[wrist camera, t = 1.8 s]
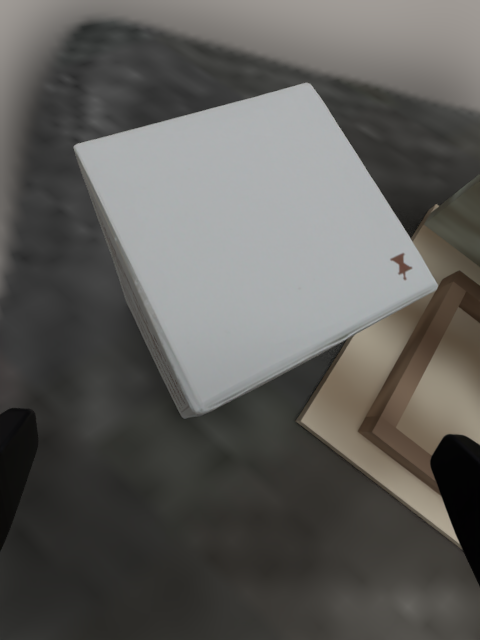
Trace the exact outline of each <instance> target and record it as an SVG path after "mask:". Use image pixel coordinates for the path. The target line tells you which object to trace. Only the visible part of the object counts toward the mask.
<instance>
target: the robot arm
mask: <svg viewBox="0 0 480 640" xmlns="http://www.w3.org/2000/svg"><path fill="white" fill-rule="evenodd" d="M37 448H38V432H37V424H36V416H35V412H34V411H33V410H31V409H21V408H11V409H8V410H6V411H5V412H3V413H2V414H0V551H1V549H2V547H3V544H4V542H5V540H6V537H7V535H8V533H9V530H10V528H11V525H12V522H13V519H14V517H15V514H16V511H17V508H18V505H19V502H20V499H21V496H22V493H23V490H24V487H25V484H26V481H27V478H28V475H29V472H30V469H31V466H32V463H33V461H34V458H35V455H36V452H37ZM430 466H431V470H432V472H433V475H434V478H435V481H436V483H437V486H438V489H439V491H440V494H441V497H442V500H443V502H444V505H445V508H446V510H447V513H448V516H449V519H450V521H451V524H452V526H453V529H454V532H455V534H456V536H457V539H458V541H459V543H460V545H461V547H462V550H463V552H464V554H465V556H466V558H467V560H468V562H469V565H470V567H471V569H472V571H473V573H474V575H475V577H476V580H477V582H478V584H479V586H480V445H479V444H478V443H476V442H475V441H473V440H472V439H470V438H469V437H467V436H465V435H459V434H447V435H445V436H444V437H443V438H442V440H441V441H440V443H439V445H438V446H437V448H436V449H435V451H434V453H433V454H432V456H431V459H430Z"/></svg>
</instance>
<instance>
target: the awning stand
mask: <svg viewBox="0 0 480 640" xmlns="http://www.w3.org/2000/svg"><path fill="white" fill-rule="evenodd" d="M411 240H412V242H413V243H414V245H415V247H416V248H417V250H418V251H419V253H420V255H421V256H422V258H423V260H424V262H425V263H426V265H427V267H428V269H429V271H430V272H431V274H432V276H433V277H434V279H435V281H436V282H437V284H438V288H437V290H436V291H434V292H432V293H431V294H429V295H427V296H425V297H423V298H421V299H419V300H417V301H415V302H414V303H412V304H410V305H408V306H406V307H404V308H403V309H401V310H399V311H397V312H395V313H393V314H392V315H390V316H388V317H386V318H384V319H383V320H381V321H379V322H377V323H375V324H373V325H372V326H370V327H368V328H366V329H364V330H362V331H361V332H359V333H357V334H355V335H354V336H352V337H350V338H348V339H347V341H346V342H345V344H344V345H343V347H342V349H341V350H340V352H339V353H338V355H337V356H336V358H335V360H334V361H333V363H332V364H331V366H330V368H329V369H328V371H327V372H326V374H325V376H324V377H323V379H322V380H321V382H320V383H319V385H318V387H317V388H316V390H315V391H314V393H313V395H312V396H311V398H310V399H309V401H308V402H307V404H306V406H305V407H304V409H303V410H302V412H301V414H300V415H299V417H298V418H297V420H296V422H297V423H299V424H300V425H301V426H302V427H304V428H305V429H306V430H308V431H309V432H310V433H312V434H313V435H314V436H315V437H317V438H318V439H319V440H321V441H322V442H323V443H325V444H326V445H327V446H328V447H330V448H331V449H332V450H334V451H335V452H336V453H337V454H339V455H340V456H341V457H343V458H344V459H345V460H347V461H348V462H349V463H350V464H352V465H353V466H354V467H356V468H357V469H358V470H359V471H361V472H362V473H363V474H365V475H366V476H367V477H369V478H370V479H371V480H372V481H374V482H375V483H376V484H378V485H379V486H380V487H381V488H383V489H384V490H385V491H387V492H388V493H389V494H391V495H392V496H393V497H394V498H396V499H397V500H398V501H400V502H401V503H402V504H403V505H405V506H406V507H407V508H409V509H410V510H411V511H413V512H414V513H415V514H416V515H418V516H419V517H420V518H422V519H423V520H424V521H426V522H427V523H428V524H429V525H431V526H432V527H433V528H435V529H436V530H437V531H438V532H440V533H441V534H442V535H444V536H445V537H446V538H448V539H449V540H450V541H451V542H453V543H454V544H455V545H457V546H458V547H459V548H460V549H462V547H461V545H460V543H459V541H458V539H457V536H456V534H455V532H454V529H453V526H452V524H451V521H450V519H449V516H448V513H447V510H446V508H445V505H444V502H443V500H442V497H441V494H440V491H439V489H438V486H437V483H436V481H435V478H434V475H433V472H432V470H431V466H430V459H431V456H432V454H433V453H434V451H435V449H436V448H437V446H438V445H439V443H440V441H441V440H442V438H443V437H444V436H445V435H447V434H459V435H465V436H467V437H469V438H470V439H472V440H473V441H475V442H476V443H478V444H479V445H480V174H479V175H478V176H477V177H475V178H474V179H473V180H472V181H470V182H469V183H468V184H467V185H465V186H464V187H463V188H462V189H460V190H459V191H458V192H457V193H455V194H454V195H453V196H452V197H450V198H449V199H448V200H447V201H445V202H444V203H443V204H441V205H440V206H438V205H437V204H436V205H434V206H433V207H432V208H431V209H430V210H429V211H428V212H427V214H426V215H425V217H424V218H423V220H422V222H421V223H420V225H419V226H418V228H417V230H416V231H415V233H414V234H413V236H412V237H411Z"/></svg>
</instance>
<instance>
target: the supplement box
mask: <svg viewBox="0 0 480 640" xmlns="http://www.w3.org/2000/svg"><path fill="white" fill-rule="evenodd" d="M74 150H75V154H76V158H77V161H78V164H79V167H80V170H81V173H82V175H83V178H84V181H85V184H86V186H87V189H88V192H89V194H90V197H91V200H92V203H93V206H94V209H95V212H96V215H97V218H98V220H99V223H100V226H101V228H102V231H103V234H104V237H105V239H106V242H107V245H108V247H109V250H110V253H111V256H112V259H113V262H114V265H115V268H116V271H117V274H118V278H119V281H120V284H121V287H122V290H123V293H124V297H125V300H126V302H127V305H128V307H129V309H130V311H131V313H132V315H133V317H134V319H135V321H136V324H137V326H138V328H139V330H140V332H141V334H142V337H143V339H144V341H145V343H146V345H147V347H148V349H149V351H150V354H151V356H152V358H153V360H154V362H155V364H156V366H157V368H158V370H159V372H160V374H161V376H162V378H163V380H164V383H165V385H166V387H167V389H168V391H169V393H170V395H171V397H172V399H173V401H174V403H175V405H176V407H177V409H178V411H179V413H180V415H181V416H182V417H183V418H184V419H186V418H190V417H197V416H202V415H205V414H207V413H209V412H211V411H213V410H215V409H217V408H218V407H220V406H222V405H224V404H226V403H228V402H230V401H232V400H234V399H236V398H238V397H240V396H242V395H244V394H246V393H248V392H250V391H252V390H254V389H256V388H258V387H260V386H262V385H264V384H265V383H267V382H269V381H271V380H273V379H275V378H277V377H279V376H280V375H282V374H284V373H286V372H288V371H290V370H292V369H293V368H295V367H297V366H299V365H301V364H303V363H305V362H306V361H308V360H310V359H312V358H314V357H316V356H317V355H319V354H321V353H323V352H325V351H327V350H328V349H330V348H332V347H334V346H336V345H337V344H339V343H341V342H343V341H345V340H346V339H348V338H350V337H352V336H354V335H355V334H357V333H359V332H361V331H362V330H364V329H366V328H368V327H370V326H372V325H373V324H375V323H377V322H379V321H381V320H383V319H384V318H386V317H388V316H390V315H392V314H393V313H395V312H397V311H399V310H401V309H403V308H404V307H406V306H408V305H410V304H412V303H414V302H415V301H417V300H419V299H421V298H423V297H425V296H427V295H429V294H431V293H432V292H434V291H436V290H437V288H438V284H437V282H436V281H435V279H434V277H433V276H432V274H431V272H430V271H429V269H428V267H427V265H426V263H425V262H424V260H423V258H422V256H421V255H420V253H419V251H418V250H417V248H416V247H415V245H414V243H413V242H412V240H411V239H410V237H409V235H408V234H407V232H406V230H405V229H404V227H403V226H402V224H401V223H400V221H399V220H398V218H397V216H396V215H395V213H394V212H393V210H392V209H391V207H390V206H389V204H388V202H387V201H386V199H385V198H384V196H383V195H382V193H381V191H380V190H379V188H378V187H377V185H376V184H375V182H374V181H373V179H372V178H371V176H370V174H369V173H368V171H367V170H366V168H365V166H364V165H363V163H362V162H361V160H360V159H359V157H358V155H357V154H356V152H355V151H354V149H353V148H352V146H351V144H350V143H349V141H348V140H347V138H346V137H345V135H344V134H343V132H342V130H341V129H340V127H339V126H338V124H337V123H336V121H335V119H334V118H333V116H332V115H331V113H330V111H329V110H328V108H327V107H326V105H325V104H324V102H323V101H322V99H321V98H320V96H319V95H318V94H317V92H316V91H315V90H314V88H313V87H312V86H311V84H308V83H303V84H299V85H296V86H293V87H289V88H285V89H282V90H279V91H275V92H271V93H267V94H264V95H260V96H257V97H253V98H249V99H246V100H242V101H238V102H234V103H231V104H227V105H223V106H219V107H215V108H212V109H208V110H204V111H200V112H197V113H193V114H189V115H185V116H182V117H178V118H174V119H170V120H167V121H163V122H159V123H156V124H152V125H148V126H144V127H140V128H136V129H133V130H129V131H125V132H121V133H117V134H113V135H110V136H106V137H102V138H98V139H94V140H90V141H86V142H82V143H79V144H76V145H75V146H74Z"/></svg>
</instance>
